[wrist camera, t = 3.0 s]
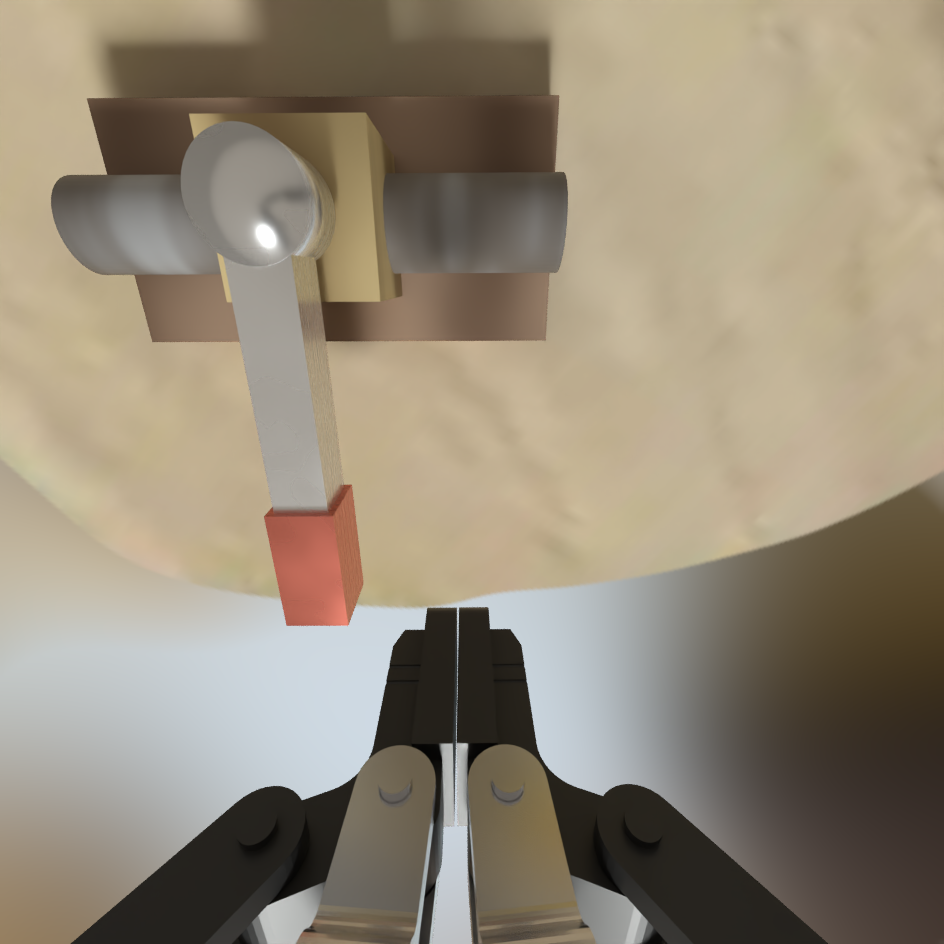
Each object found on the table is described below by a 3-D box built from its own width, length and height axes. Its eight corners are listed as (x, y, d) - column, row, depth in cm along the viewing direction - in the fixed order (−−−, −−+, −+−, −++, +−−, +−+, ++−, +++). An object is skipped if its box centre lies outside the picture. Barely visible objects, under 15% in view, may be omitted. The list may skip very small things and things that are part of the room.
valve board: (550, 114, 17) (595, 16, 11) (538, 334, 20) (569, 360, 14) (128, 117, 17) (-78, 21, 11) (181, 336, 20) (46, 362, 14)
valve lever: (219, 148, 12) (162, 119, 10) (329, 148, 12) (296, 119, 10) (299, 582, 17) (274, 625, 15) (374, 581, 17) (360, 625, 15)
